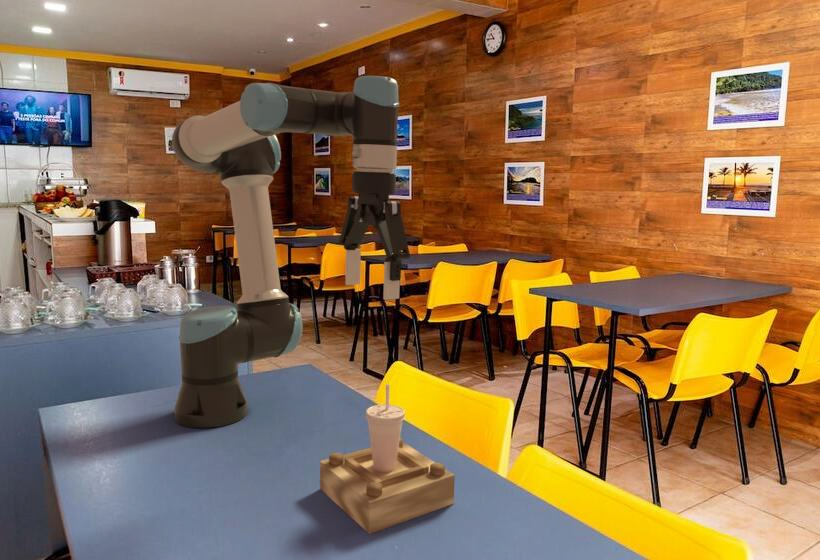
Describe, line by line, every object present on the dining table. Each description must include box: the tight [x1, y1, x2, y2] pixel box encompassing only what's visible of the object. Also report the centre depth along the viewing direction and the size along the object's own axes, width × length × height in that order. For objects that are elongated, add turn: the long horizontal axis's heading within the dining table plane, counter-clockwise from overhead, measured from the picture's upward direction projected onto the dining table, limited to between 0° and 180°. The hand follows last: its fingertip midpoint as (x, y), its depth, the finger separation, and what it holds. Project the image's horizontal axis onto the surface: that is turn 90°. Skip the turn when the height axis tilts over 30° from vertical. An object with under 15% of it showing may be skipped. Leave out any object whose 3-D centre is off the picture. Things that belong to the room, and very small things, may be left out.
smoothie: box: [365, 383, 406, 472], centre depth 102 cm, size 6×6×14 cm
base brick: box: [319, 437, 456, 535], centre depth 103 cm, size 16×16×6 cm
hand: (371, 291), depth 111 cm, fingers open, 13 cm apart
